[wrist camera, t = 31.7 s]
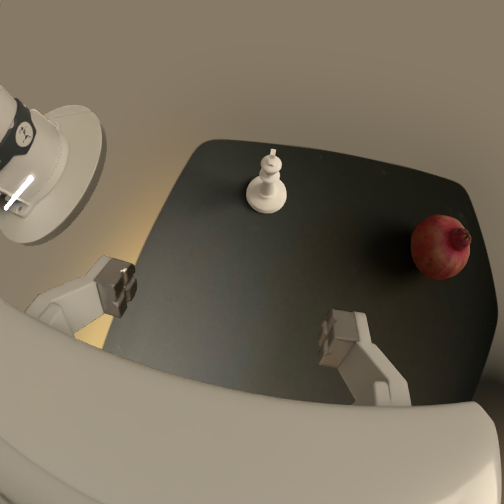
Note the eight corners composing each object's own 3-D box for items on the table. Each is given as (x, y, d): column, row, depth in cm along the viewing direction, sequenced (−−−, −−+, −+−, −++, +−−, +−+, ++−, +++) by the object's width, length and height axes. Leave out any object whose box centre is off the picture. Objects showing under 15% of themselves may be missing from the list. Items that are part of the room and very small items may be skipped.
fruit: (397, 280, 32) (444, 270, 23) (398, 220, 34) (440, 193, 24) (442, 285, 32) (491, 276, 22) (442, 229, 34) (486, 208, 24)
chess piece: (288, 180, 35) (302, 137, 25) (283, 216, 34) (296, 182, 24) (250, 173, 35) (251, 127, 25) (242, 209, 34) (240, 171, 24)
